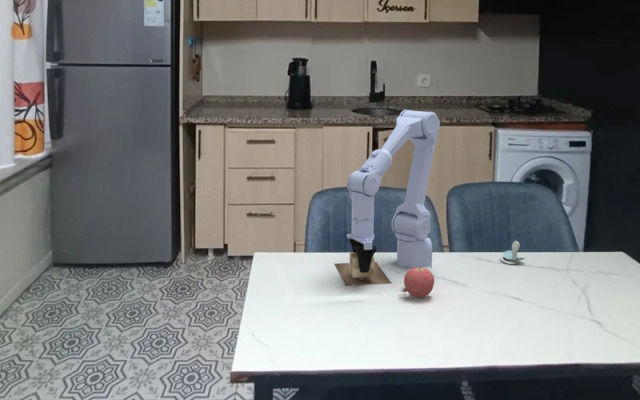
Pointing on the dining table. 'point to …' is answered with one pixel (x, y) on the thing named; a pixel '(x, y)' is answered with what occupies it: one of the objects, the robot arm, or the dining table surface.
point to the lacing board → (367, 280)
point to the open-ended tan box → (355, 267)
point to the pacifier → (512, 254)
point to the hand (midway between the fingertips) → (361, 268)
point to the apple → (419, 282)
